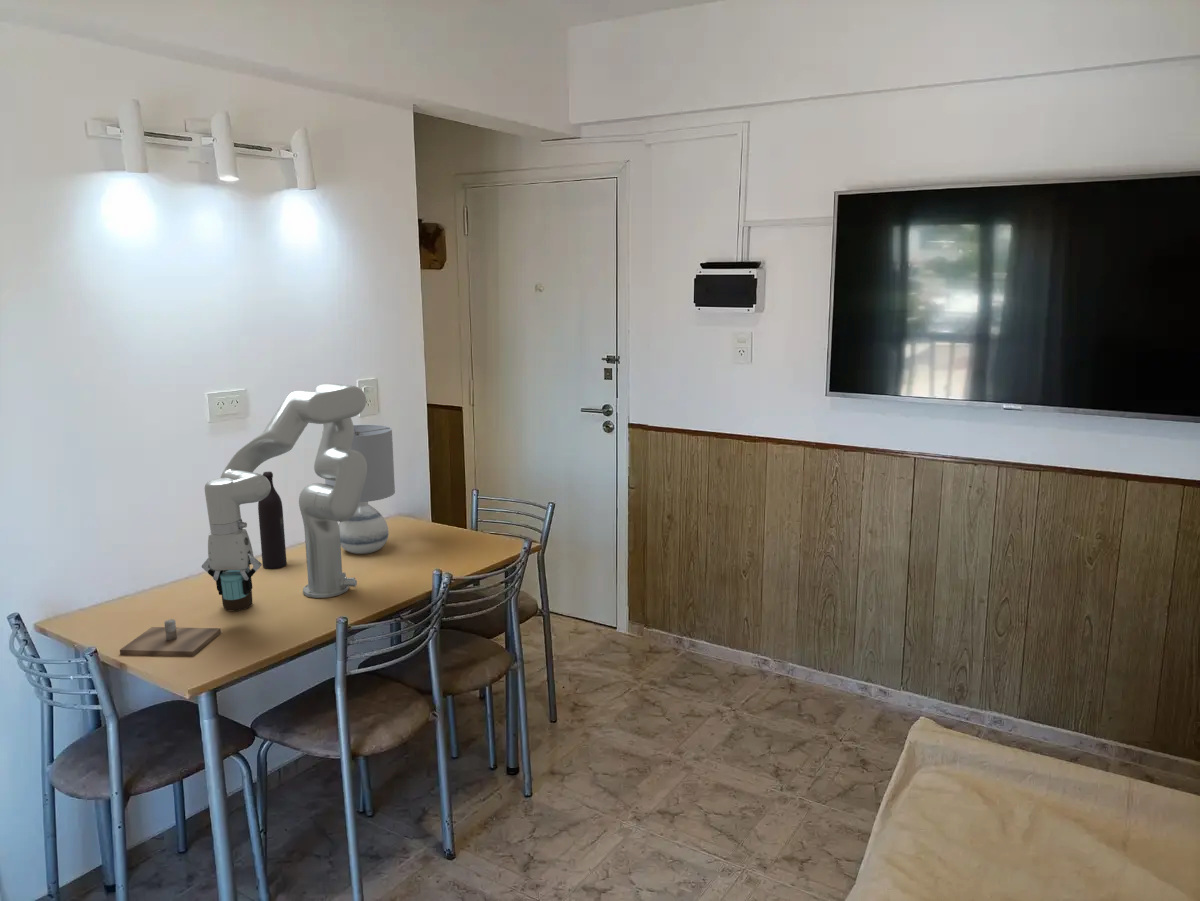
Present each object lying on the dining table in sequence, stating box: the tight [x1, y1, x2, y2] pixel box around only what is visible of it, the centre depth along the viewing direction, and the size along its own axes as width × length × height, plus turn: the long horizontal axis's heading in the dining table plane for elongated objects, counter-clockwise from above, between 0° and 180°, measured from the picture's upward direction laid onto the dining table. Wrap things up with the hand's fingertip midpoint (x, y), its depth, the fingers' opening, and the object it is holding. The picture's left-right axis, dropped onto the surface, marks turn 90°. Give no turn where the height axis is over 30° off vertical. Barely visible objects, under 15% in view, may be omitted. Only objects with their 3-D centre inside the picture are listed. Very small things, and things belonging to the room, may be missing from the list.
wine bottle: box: [257, 471, 287, 570], centre depth 271 cm, size 7×7×30 cm
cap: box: [220, 570, 248, 600], centre depth 226 cm, size 6×6×6 cm
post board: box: [119, 618, 222, 657], centre depth 216 cm, size 18×14×6 cm
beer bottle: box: [221, 565, 253, 612], centre depth 238 cm, size 8×8×24 cm
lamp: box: [322, 424, 396, 555], centre depth 286 cm, size 22×22×40 cm
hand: (235, 592), depth 227 cm, fingers closed on cap, 6 cm apart
